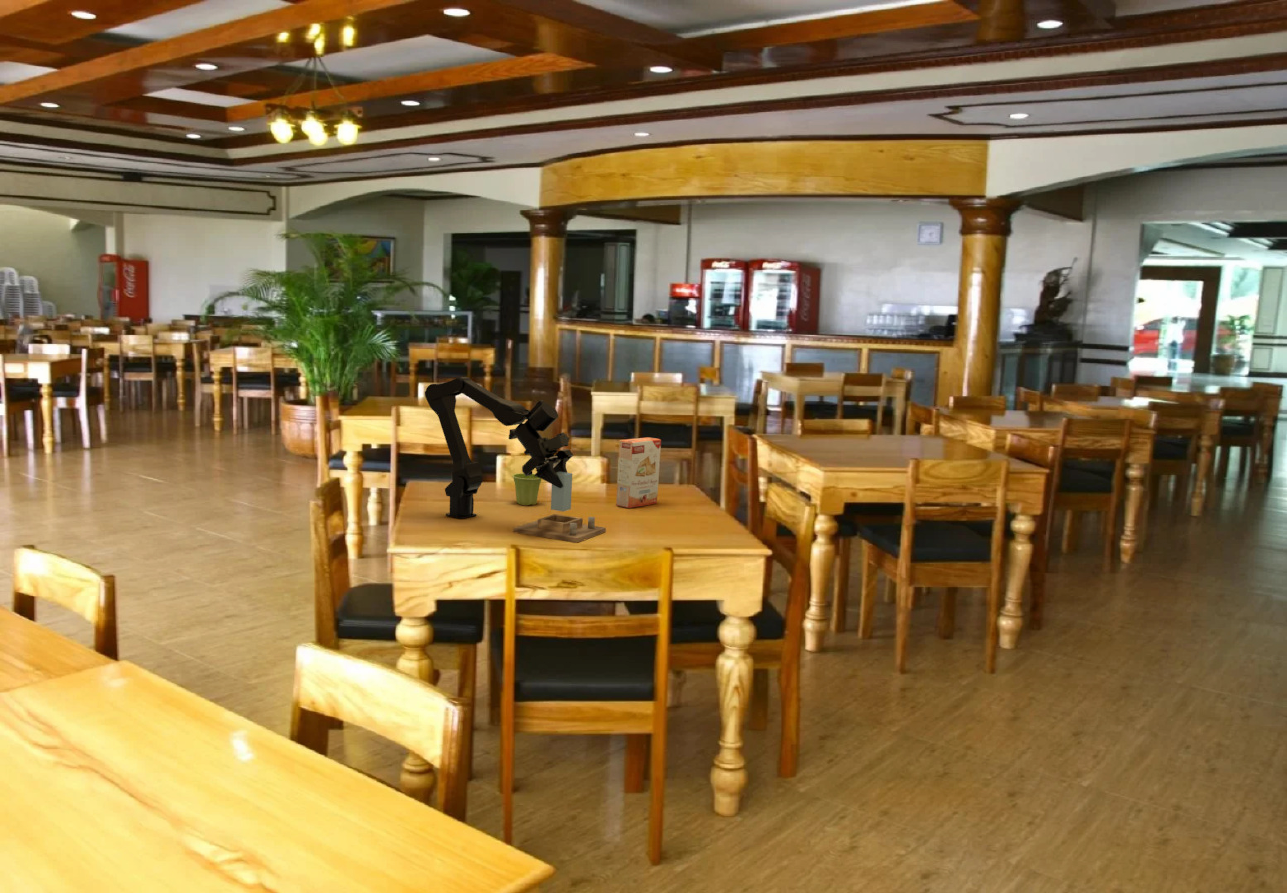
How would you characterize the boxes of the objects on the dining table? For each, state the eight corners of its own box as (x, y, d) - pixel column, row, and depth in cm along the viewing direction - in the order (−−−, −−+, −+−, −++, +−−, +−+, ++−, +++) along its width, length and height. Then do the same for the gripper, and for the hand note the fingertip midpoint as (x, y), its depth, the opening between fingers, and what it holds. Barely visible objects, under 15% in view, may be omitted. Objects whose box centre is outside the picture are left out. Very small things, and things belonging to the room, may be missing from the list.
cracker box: (629, 509, 331) (633, 442, 328) (615, 506, 335) (618, 439, 332) (658, 503, 342) (662, 438, 339) (644, 500, 346) (647, 436, 343)
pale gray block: (550, 509, 294) (552, 473, 293) (558, 507, 298) (559, 471, 296) (563, 511, 292) (565, 475, 291) (570, 509, 296) (572, 473, 294)
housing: (513, 532, 293) (513, 517, 292) (543, 522, 307) (544, 507, 307) (577, 542, 284) (577, 527, 284) (605, 531, 299) (606, 517, 298)
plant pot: (544, 501, 337) (545, 474, 335) (538, 507, 327) (539, 479, 326) (515, 499, 338) (516, 472, 336) (508, 505, 328) (509, 477, 327)
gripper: (533, 426, 285) (567, 472, 282) (568, 420, 302) (601, 463, 298) (507, 452, 289) (540, 498, 286) (543, 445, 306) (575, 488, 303)
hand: (565, 486), depth 293 cm, fingers closed on pale gray block, 4 cm apart
